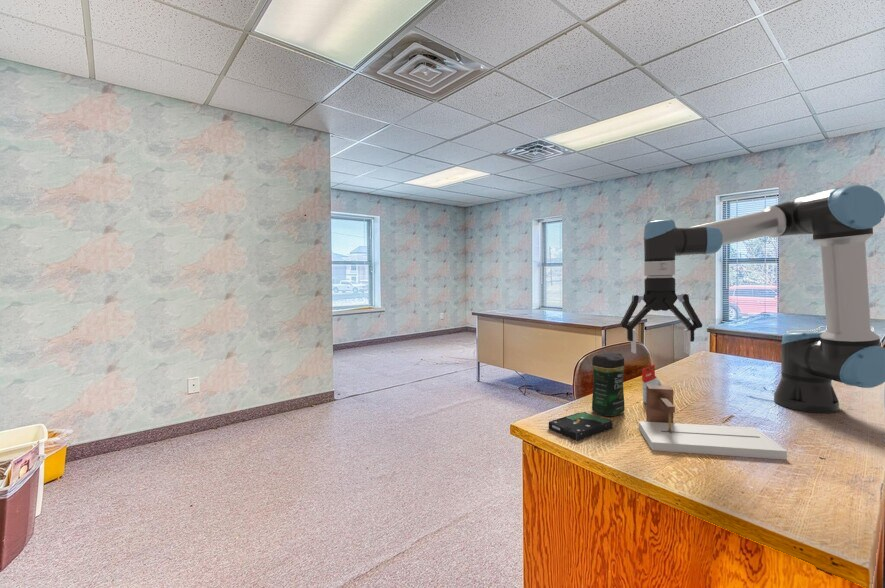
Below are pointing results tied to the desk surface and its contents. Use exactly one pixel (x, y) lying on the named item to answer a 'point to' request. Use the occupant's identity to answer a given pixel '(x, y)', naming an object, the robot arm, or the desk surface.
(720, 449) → the grey board
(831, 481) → the desk surface
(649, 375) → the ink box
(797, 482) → the desk surface
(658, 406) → the marking gauge
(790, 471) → the desk surface
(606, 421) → the disk drive
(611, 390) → the coffee jar
